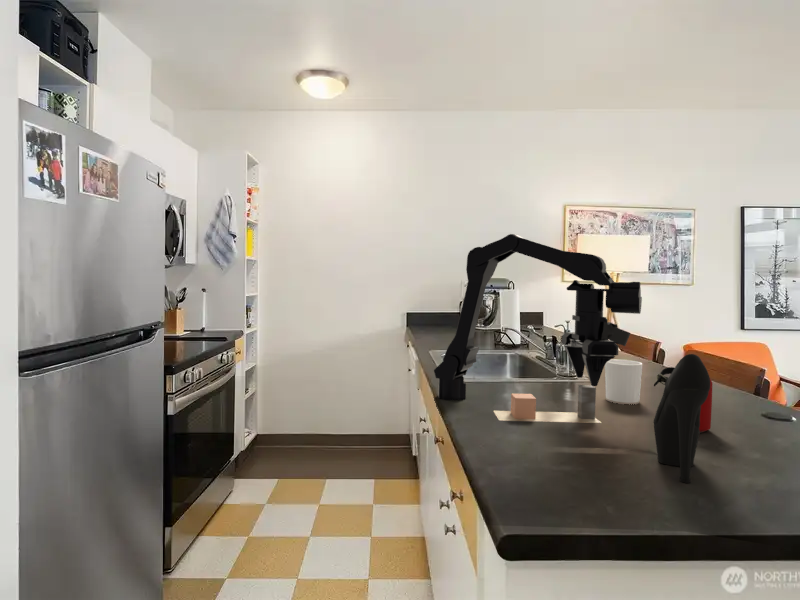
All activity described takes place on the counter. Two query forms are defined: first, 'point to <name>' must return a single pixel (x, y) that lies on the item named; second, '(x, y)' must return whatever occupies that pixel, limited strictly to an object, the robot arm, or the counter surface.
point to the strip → (583, 416)
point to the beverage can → (706, 412)
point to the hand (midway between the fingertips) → (586, 381)
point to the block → (523, 406)
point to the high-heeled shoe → (681, 413)
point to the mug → (623, 381)
